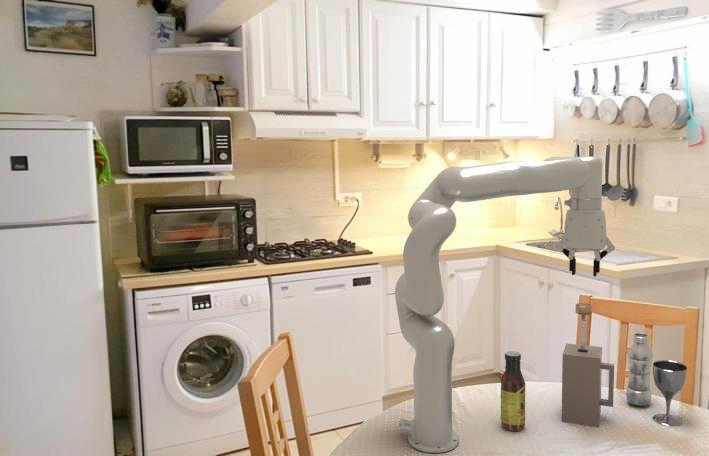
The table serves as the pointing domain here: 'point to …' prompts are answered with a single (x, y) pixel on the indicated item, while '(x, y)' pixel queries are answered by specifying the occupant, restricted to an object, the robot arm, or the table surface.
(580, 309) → the plunger
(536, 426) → the table surface
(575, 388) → the press pot
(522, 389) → the sauce bottle
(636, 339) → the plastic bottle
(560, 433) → the table surface
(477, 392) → the table surface
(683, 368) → the wine glass
